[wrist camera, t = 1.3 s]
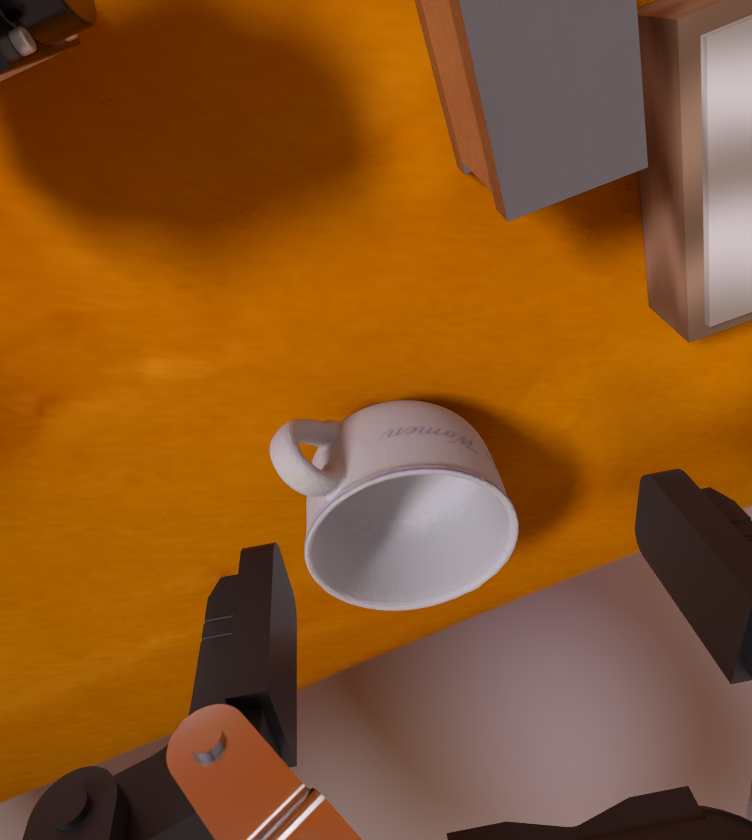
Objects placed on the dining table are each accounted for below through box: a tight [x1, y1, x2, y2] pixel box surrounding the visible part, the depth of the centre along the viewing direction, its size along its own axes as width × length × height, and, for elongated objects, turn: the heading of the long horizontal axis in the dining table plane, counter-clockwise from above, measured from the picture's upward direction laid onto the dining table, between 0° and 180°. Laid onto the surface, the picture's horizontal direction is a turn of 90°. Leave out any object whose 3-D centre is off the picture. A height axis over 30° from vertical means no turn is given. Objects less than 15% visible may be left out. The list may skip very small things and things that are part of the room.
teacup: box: [270, 400, 519, 611], centre depth 33 cm, size 14×11×8 cm
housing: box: [415, 0, 648, 222], centre depth 22 cm, size 8×5×8 cm, turn 20°
